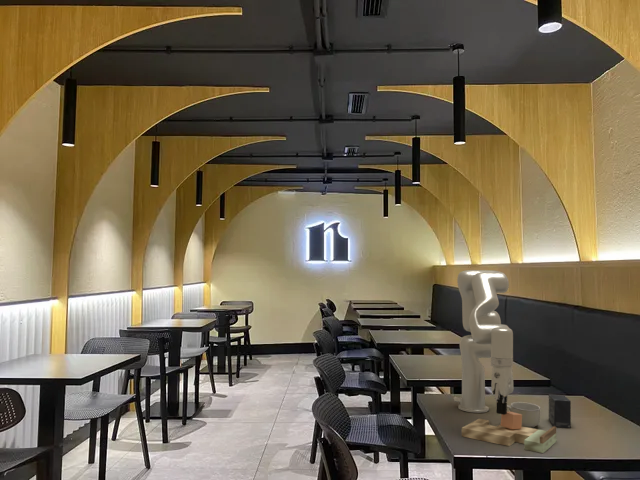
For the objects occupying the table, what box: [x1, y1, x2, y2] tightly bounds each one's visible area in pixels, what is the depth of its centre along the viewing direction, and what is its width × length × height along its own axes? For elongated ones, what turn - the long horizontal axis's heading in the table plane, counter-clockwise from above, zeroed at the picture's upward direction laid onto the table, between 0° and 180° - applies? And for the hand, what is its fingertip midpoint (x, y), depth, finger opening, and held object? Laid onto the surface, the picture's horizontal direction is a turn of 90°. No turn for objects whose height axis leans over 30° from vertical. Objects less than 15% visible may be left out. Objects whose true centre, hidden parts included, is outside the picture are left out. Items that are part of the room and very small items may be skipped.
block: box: [500, 411, 522, 429], centre depth 194 cm, size 5×5×5 cm
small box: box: [548, 393, 572, 429], centre depth 211 cm, size 11×6×10 cm, turn 168°
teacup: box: [507, 401, 541, 429], centre depth 208 cm, size 14×11×8 cm
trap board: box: [461, 418, 558, 454], centre depth 191 cm, size 28×16×5 cm, turn 52°
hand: (501, 413), depth 193 cm, fingers closed
